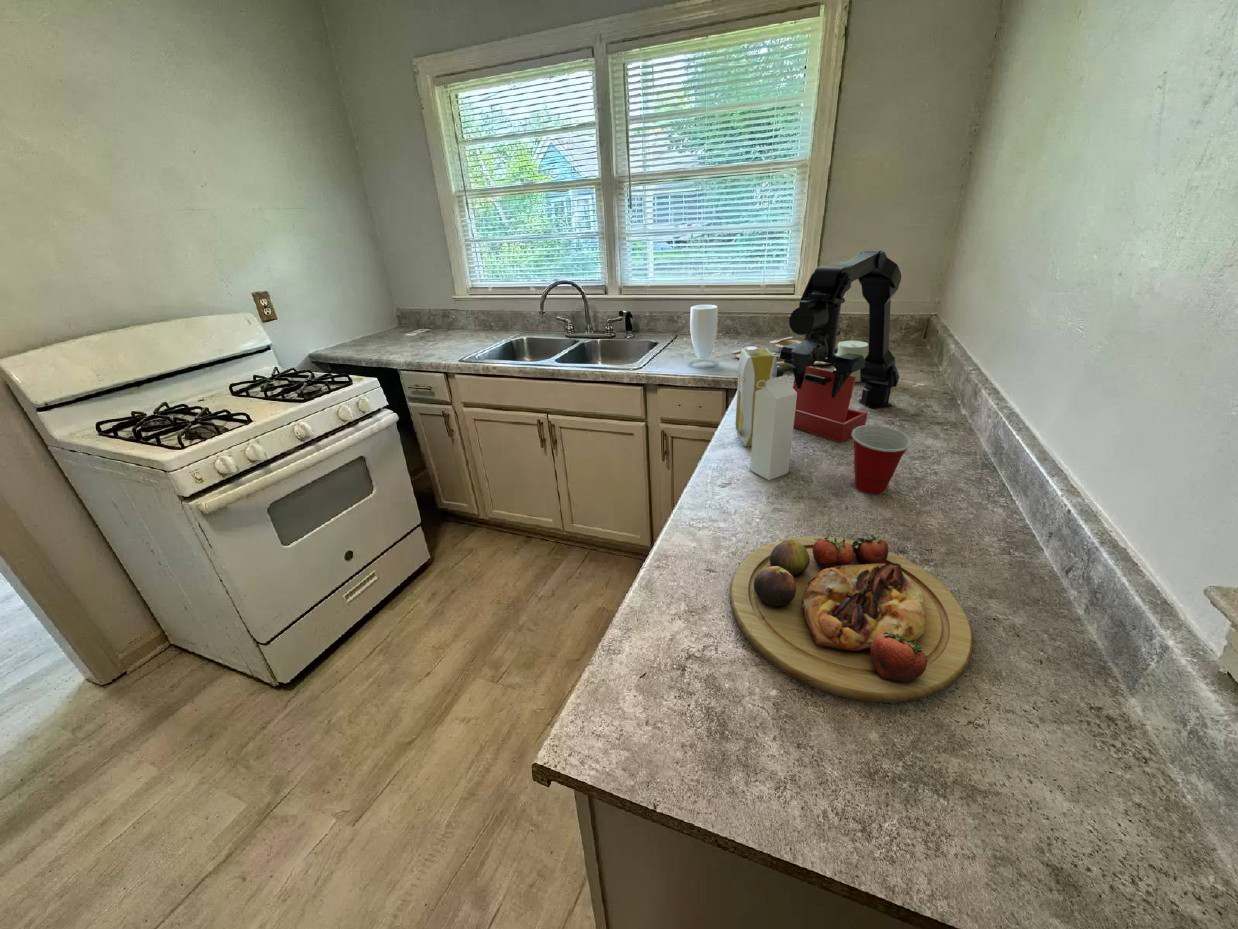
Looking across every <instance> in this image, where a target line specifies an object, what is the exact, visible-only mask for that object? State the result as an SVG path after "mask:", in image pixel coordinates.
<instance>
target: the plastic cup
mask: <svg viewBox="0 0 1238 929" xmlns="http://www.w3.org/2000/svg"><path fill="white" fill-rule="evenodd" d="M851 438H852V440H853V472H854V484H855V485H854V486H855V487H856V489H857V490H859V491H860V492H862V493H865V494H869V495H879V494H883V493H884V492H886V490H887V488H888V487H889V484H890V481H891V479H892V478H893V476H894V474H895V471H896V469H897V467H898V465H899V463H900V460H902V459H901V458H902V457H903V456H904V454H905V453H906V451H907V450H908V449H909V448H911V446H912V443H913V440H912V439H911V438H910V437H909V435H908V434H907V433H904V432H903V431H901V430H899V429H896V428H893V427H890V426H885V425H879V424H865V425H863V426H858V427H856V428H855V429H853V431H852V437H851Z"/></svg>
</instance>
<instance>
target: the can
mask: <svg viewBox="0 0 1238 929" xmlns="http://www.w3.org/2000/svg"><path fill="white" fill-rule="evenodd" d="M837 348H838V353H836V356H841V355H844V354H847V353H852V354H858V355H863V357H864V359H865V358H866V356H867V355H868V354H867V353H868V350H869V342H865V341H860V340H842V341H838V343H837ZM834 370H836V369H835V368H834ZM851 376H856V379H855V383H857V382H859V383H860V370H858V371H855V372H853V373H851Z"/></svg>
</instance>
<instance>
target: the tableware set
mask: <svg viewBox="0 0 1238 929" xmlns="http://www.w3.org/2000/svg"><path fill="white" fill-rule="evenodd" d="M801 342H802V341H801V340H797V339H795V340H794V336H788V337H785V338H780V339H777V340H770V341H769V344H772V345H774V347H776V348H778V350H779V351H780V350H781V349H782V347H784V346H787V345H790V344H794V343H796V344H800V343H801ZM749 347H752V346H751V345H747V346H745V347H744V348H741V349H738V350H735V351H732V352H731V354H732V355H734V357H735V358H737V359H740V355H741V350H745V349H747V348H749ZM771 353H772V354H773V355H775V356H776V359H777V366H779V367H782V368H783V369H784V370H788V369H791V367H790V366H789V365H788V364H787V363H784V359H780V358H779V356H780V354H778V353H777V352H771ZM824 365H825V366H826V365H832V364H831V363H826V362H818V361H816V362H814V364H813V365H812V366H824Z"/></svg>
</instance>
